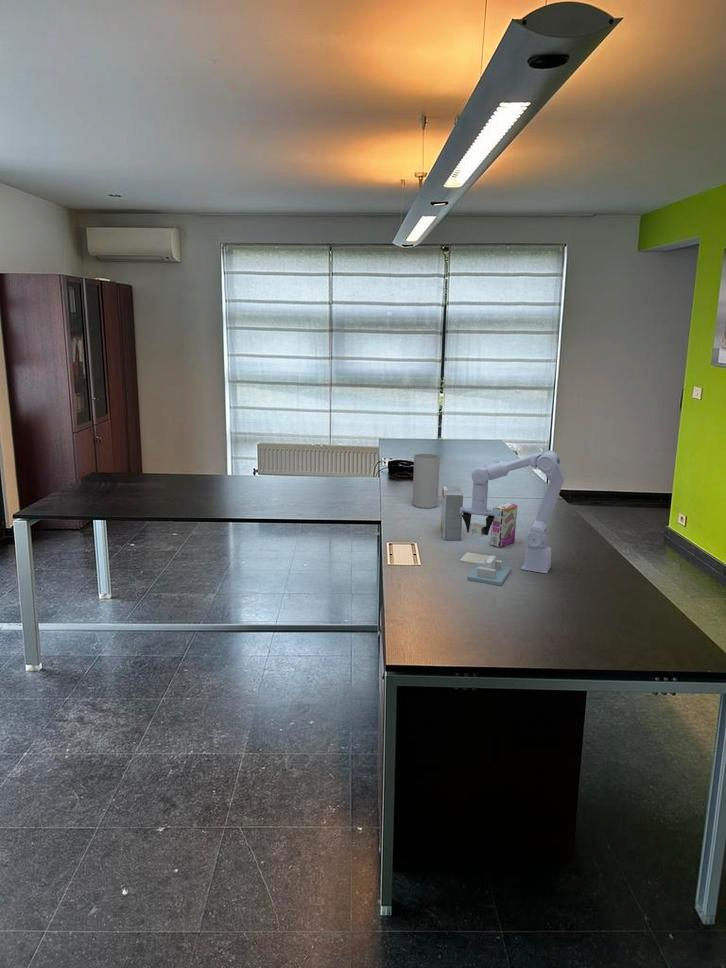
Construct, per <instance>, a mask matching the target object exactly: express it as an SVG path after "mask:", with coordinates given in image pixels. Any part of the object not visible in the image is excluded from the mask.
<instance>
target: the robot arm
mask: <svg viewBox="0 0 726 968" xmlns="http://www.w3.org/2000/svg"><path fill="white" fill-rule="evenodd" d="M526 467H531V468H534V469H536V468H538V470H540V471H541V472H542V474H544V475H545V476H546V478H547V479H548V484H547V487H546V490H545V493H544V495H543V498H542V501H541V504H540V506H539V509H538V512H537V514H536V516H535V520H534V522H533V524H532V526H531V528H530V530H529V532H527V534H526V535H525V549H524V561H523V565H522V566H521V570H523V571H530V572H537V573H542V574H548V573H549V571H550V569H551V564H552V563H551V562H552V547H551V546H547V544H546V542H545V541H544V540H545V539H546V538H547V536H548V532H547V529H548V525H549V522H550V519H551V516H552V513H553V511H554V508H555V505H556V502H557V499H558V498H559V496H560V492H561V490H562V487H563V484H564V482H565V474H564V470H563V465H562V458H560V456H559V455H558V454H557V453H556V451H553V450H550V449H549V450H545V451H544V452H543V451H541V452H540V451H539V452H535V453H532V454H528V455H526V456H523V457H520V458H518V459H514V460H512V461H509V462H506V461H504V460H495V461H494V463H490V464H488V465H487V464H484V465H483V466H479V467H478V468H476V469H475V470H473V472H472V473H471V480H472V482H473V483H472V494H471V507H465V506H463V507H461V508H460V513H462V521H464V525H465V528H466V533H468V534H469V525H470V524H471V520H472V515H475V516H483V517H486V518H485V525H486V532H485V535H486V536H488V535H489V534H490V529H491V528H492V522H493V520H494V519H495V518H498V513H499V512H496V511H493V510H491V509H488V495H489V481H493V480H496V479H500V478H503V477H507V476H508V474H509V472H510V471H511V472H512V471H514V470H518V469H522V468H526Z"/></svg>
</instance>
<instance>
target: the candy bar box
mask: <svg viewBox="0 0 726 968" xmlns="http://www.w3.org/2000/svg"><path fill="white" fill-rule="evenodd" d="M492 511H496V512H499V513H498V518H495V519H494V520H493V522H492V524H491V528H490V529H491V531H490V532H491V533H490V542H489V545H490V546H491V547H496V548H498V549H499V548H503V547H505V546H509V545H511V544H514V543H515V541H516V540H515V538H516V529H517V527H516V526H517V519H518V518H517V515H518V504H514V503H509V502H508V503H507V502H506V503H502V504H499V505H496V506H494V507H493V506H492Z"/></svg>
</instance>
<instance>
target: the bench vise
mask: <svg viewBox="0 0 726 968" xmlns="http://www.w3.org/2000/svg"><path fill="white" fill-rule="evenodd" d="M489 556H490V557H489V558H486V559H485V564H483V563H479V564H476V566H475V568H473V570H472V571H470V573H469V574H468V576H467V578H466V580H467V581H471V582H475V583H481V584H482V583H483V584H487V585H493V584H494V585H495V586H499V585H500V587H501V586H502V585H503V583H504V582H505V581H506V579H507V578H506V577H508V576H509V574H510V573H511V571H512V567H507V566H503V560H500V559H497V555H496V556H495V555H489ZM504 580H505V581H504Z"/></svg>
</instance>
